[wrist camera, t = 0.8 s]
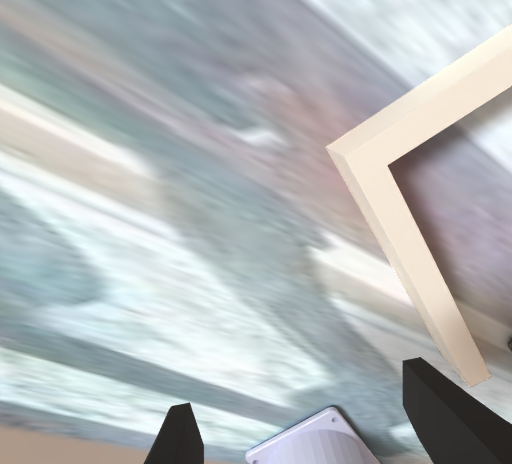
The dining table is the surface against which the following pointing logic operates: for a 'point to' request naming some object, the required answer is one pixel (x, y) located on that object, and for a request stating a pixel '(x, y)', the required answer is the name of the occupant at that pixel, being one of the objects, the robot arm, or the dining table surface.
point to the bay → (392, 202)
